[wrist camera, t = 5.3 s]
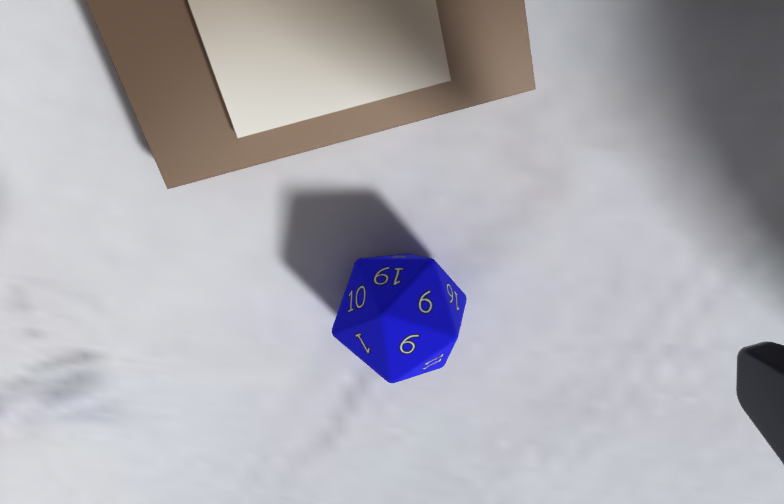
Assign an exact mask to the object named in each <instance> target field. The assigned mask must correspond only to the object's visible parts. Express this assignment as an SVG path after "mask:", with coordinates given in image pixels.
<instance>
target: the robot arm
mask: <svg viewBox="0 0 784 504" xmlns="http://www.w3.org/2000/svg"><path fill="white" fill-rule="evenodd" d="M736 391H737V397H738V400H739V402H740V404H741V406H742V408H743V409H744V411H745V412H746V414H747V415H748V416H749V418H750V419H751V420H752V422H753V423H754V424H755V426H756V427H757V429H758V430H759V431H760V433H761V434H762V435H763V437H764V438H765V439H766V441H767V442H768V443H769V445H770V446H771V448H772V449H773V450H774V452H775V453H776V454H777V456H778V457H779V458H780V460H781V461H782V463H783V464H784V345H780V344H777V343H773V342H762V343H758V344H754V345H751V346H747V347H744V348H742V349H741V350H740V351H739V353H738V356H737V387H736Z"/></svg>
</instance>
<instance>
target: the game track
mask: <svg viewBox="0 0 784 504" xmlns="http://www.w3.org/2000/svg"><path fill="white" fill-rule="evenodd" d="M86 2H87V4H88V6H89V9H90V11H91V13H92V16H93V18H94V20H95V22H96V25H97V27H98V29H99V32H100V34H101V36H102V39H103V41H104V43H105V46H106V48H107V50H108V52H109V55H110V57H111V59H112V62H113V64H114V66H115V69H116V71H117V73H118V76H119V78H120V80H121V83H122V85H123V87H124V89H125V92H126V94H127V96H128V99H129V101H130V103H131V106H132V108H133V110H134V113H135V115H136V117H137V119H138V122H139V124H140V126H141V129H142V131H143V133H144V136H145V138H146V140H147V143H148V145H149V147H150V149H151V152H152V154H153V156H154V159H155V161H156V163H157V166H158V168H159V170H160V173H161V175H162V177H163V180H164V182H165V184H166V186H167V189H170V188H174V187H177V186H181V185H185V184H188V183H192V182H196V181H199V180H203V179H207V178H211V177H214V176H218V175H222V174H225V173H229V172H233V171H236V170H240V169H244V168H247V167H251V166H255V165H258V164H262V163H266V162H269V161H273V160H277V159H280V158H284V157H288V156H291V155H295V154H299V153H302V152H306V151H310V150H314V149H317V148H321V147H325V146H328V145H332V144H336V143H339V142H343V141H347V140H350V139H354V138H358V137H361V136H365V135H369V134H372V133H376V132H380V131H383V130H387V129H391V128H394V127H398V126H402V125H405V124H409V123H413V122H417V121H420V120H424V119H428V118H431V117H435V116H439V115H442V114H446V113H450V112H453V111H457V110H461V109H464V108H468V107H472V106H475V105H479V104H483V103H486V102H490V101H494V100H497V99H501V98H505V97H508V96H512V95H516V94H520V93H523V92H527V91H531V90H534V89H536V88H535V80H534V73H533V65H532V57H531V49H530V42H529V34H528V26H527V18H526V11H525V3H524V0H86Z"/></svg>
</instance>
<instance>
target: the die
mask: <svg viewBox="0 0 784 504" xmlns="http://www.w3.org/2000/svg"><path fill="white" fill-rule="evenodd" d="M465 304H466V295H465V294H464V293H463V292H462V291H461V289H460V288H459V287H458V286H457V285H456V284H455V283H454V282H453V280H452V279H451V278H450V277H449V276H448V275H447V274H446V273H445V271H444V270H443V269H442V268H441V267H440V266H439V265H438V263H437V262H436V261H435V260H434V259H431V258H427V257H422V256H417V255H413V254H401V255H390V256H380V257H369V258H360V259H358V260H357V261H356V262H355V264H354V267H353V270H352V273H351V276H350V278H349V281H348V284H347V287H346V290H345V293H344V296H343V299H342V302H341V305H340V308H339V310H338V313H337V316H336V319H335V322H334V325H333V328H332V334H333V336H334V337H335V338H336V339H338V340H339V341H340V342H341V343H342V344H343V345H345V346H346V347H347V348H348V349H349V350H351V351H352V352H353V353H354V354H355V355H356V356H358V357H359V358H360V359H361V360H362V361H364V362H365V363H366V364H367V365H368V366H370V367H371V368H372V369H373V370H374V371H375V372H377V373H378V374H379V375H380V376H381V377H383V378H384V379H385V380H386V381H387V382H389V383H396V382H399V381H402V380H405V379H408V378H411V377H414V376H417V375H420V374H423V373H426V372H430V371H433V370H436V369H439V368H441V367H443V366H444V365H445V363H446V361H447V359H448V357H449V355H450V353H451V350H452V348H453V346H454V344H455V342H456V340H457V338H458V334H459V330H460V326H461V321H462V317H463V313H464V309H465Z"/></svg>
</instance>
